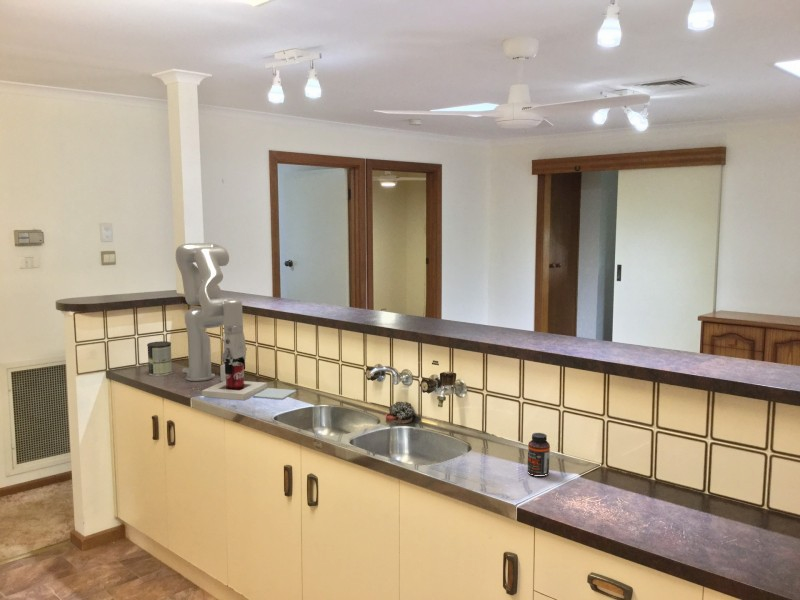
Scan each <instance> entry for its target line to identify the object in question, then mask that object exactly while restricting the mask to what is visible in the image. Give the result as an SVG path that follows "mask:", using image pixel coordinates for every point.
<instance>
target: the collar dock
mask: <svg viewBox="0 0 800 600" xmlns="http://www.w3.org/2000/svg"><path fill="white" fill-rule="evenodd" d="M267 388H268V382H259V381H247V380H244V389H242V390H228V389H226V380H225V381H221V382H219V383H216V384H214V385H212V386H209V387H207V388H204V389H203V390H201V397H202V396H204V397H203V398H212V399H213V398H214V399H224V400H226V399H227V400H236V401H237V400H238V401H246V400H248V399H249V398H250V399H251V398H253V396H254V395H255V394H257V393H259V392H261V391H263V390H265V389H267Z"/></svg>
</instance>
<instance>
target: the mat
mask: <svg viewBox="0 0 800 600" xmlns="http://www.w3.org/2000/svg"><path fill="white" fill-rule="evenodd" d="M297 392H298V390H296V389H286V388H285V389H284V388H275V387H273V388H272V387H271V388H270V387H267V389H265V390H263V391H261V392H259V393H257V394H255V395H254V396H252V398H257V399H258V398H259V399H271V400H281V401H282V400H284V399H286V398H288V397H290V396H292V395H294V394H295V393H297Z"/></svg>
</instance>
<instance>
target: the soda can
mask: <svg viewBox="0 0 800 600" xmlns="http://www.w3.org/2000/svg"><path fill="white" fill-rule="evenodd" d="M232 364H233V374H226V389H228V390H242V389H244V381H245V369H244V365H243V363H240V362H232Z"/></svg>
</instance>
